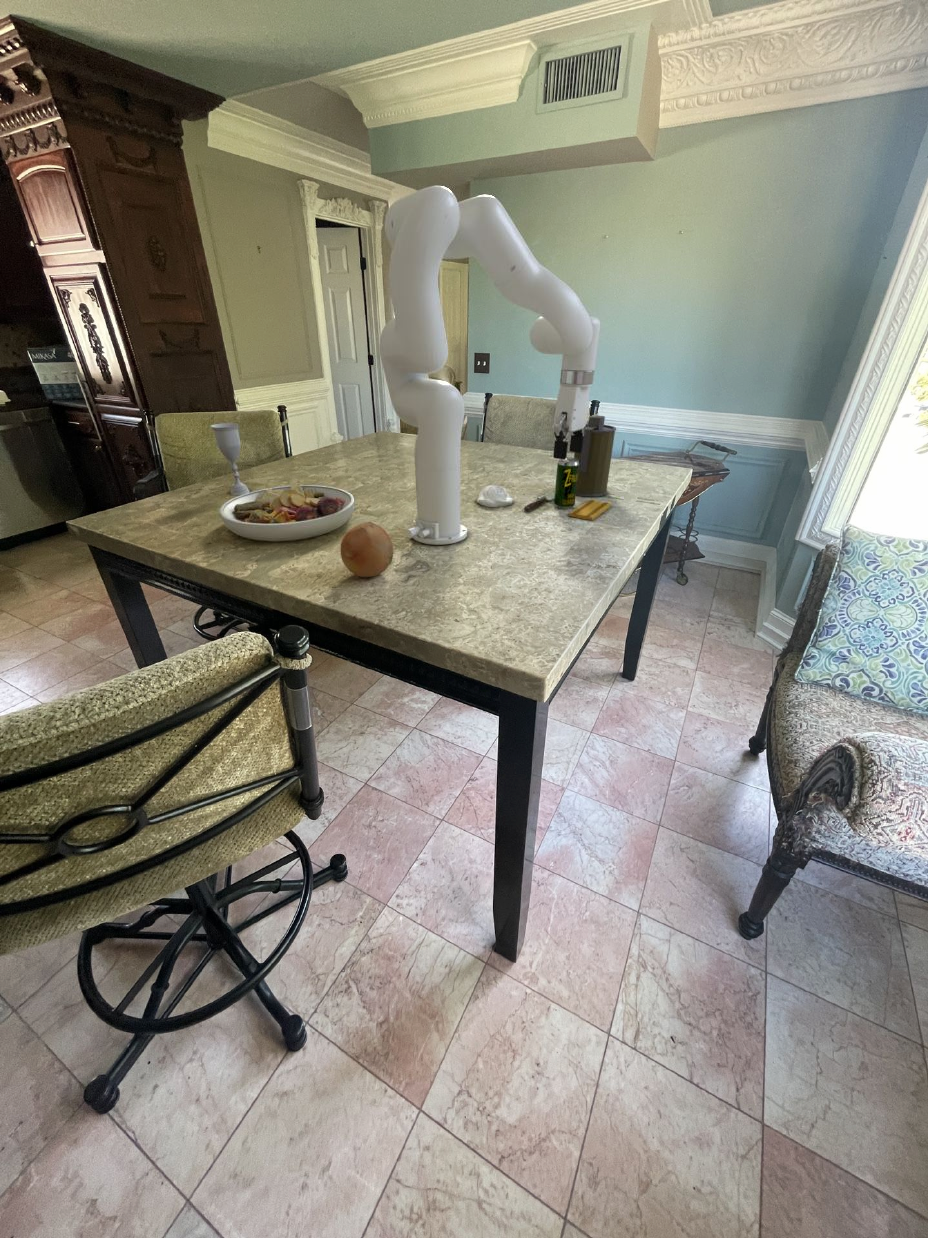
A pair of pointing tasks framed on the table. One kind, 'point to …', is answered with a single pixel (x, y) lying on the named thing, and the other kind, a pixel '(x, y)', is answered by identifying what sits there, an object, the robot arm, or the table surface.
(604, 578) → the table surface
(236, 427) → the chalice
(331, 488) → the bowl
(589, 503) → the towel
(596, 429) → the canister
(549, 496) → the spatula
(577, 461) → the beer can
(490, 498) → the rose
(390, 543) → the onion
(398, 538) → the table surface
